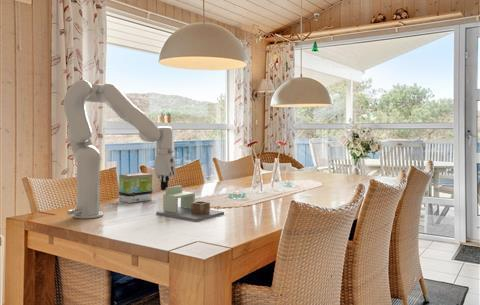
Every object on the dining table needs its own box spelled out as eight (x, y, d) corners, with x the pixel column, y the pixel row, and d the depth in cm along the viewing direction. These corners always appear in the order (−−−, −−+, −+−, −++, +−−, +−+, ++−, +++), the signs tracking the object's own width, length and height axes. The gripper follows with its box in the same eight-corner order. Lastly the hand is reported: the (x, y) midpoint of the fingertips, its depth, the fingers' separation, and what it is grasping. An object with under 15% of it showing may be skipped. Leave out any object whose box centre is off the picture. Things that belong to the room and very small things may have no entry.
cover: (175, 212, 187) (176, 189, 187) (163, 210, 192) (163, 188, 191) (194, 208, 198) (195, 186, 198) (182, 206, 203) (182, 185, 202)
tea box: (130, 203, 216) (130, 175, 215) (118, 201, 222) (118, 174, 221) (152, 200, 228) (152, 173, 227) (140, 198, 234) (140, 172, 233)
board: (196, 221, 176) (196, 209, 176) (156, 214, 190) (156, 203, 189) (224, 214, 193) (224, 203, 192) (185, 208, 206) (185, 197, 206)
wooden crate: (201, 215, 184) (201, 204, 183) (191, 213, 187) (191, 202, 187) (209, 213, 189) (209, 202, 188) (199, 211, 192) (199, 201, 192)
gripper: (181, 152, 198) (181, 190, 199) (158, 151, 206) (158, 187, 207) (170, 153, 192) (170, 192, 193) (147, 151, 200) (147, 189, 201)
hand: (164, 189), depth 200 cm, fingers closed
